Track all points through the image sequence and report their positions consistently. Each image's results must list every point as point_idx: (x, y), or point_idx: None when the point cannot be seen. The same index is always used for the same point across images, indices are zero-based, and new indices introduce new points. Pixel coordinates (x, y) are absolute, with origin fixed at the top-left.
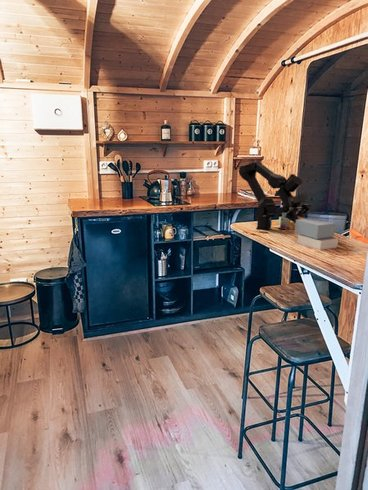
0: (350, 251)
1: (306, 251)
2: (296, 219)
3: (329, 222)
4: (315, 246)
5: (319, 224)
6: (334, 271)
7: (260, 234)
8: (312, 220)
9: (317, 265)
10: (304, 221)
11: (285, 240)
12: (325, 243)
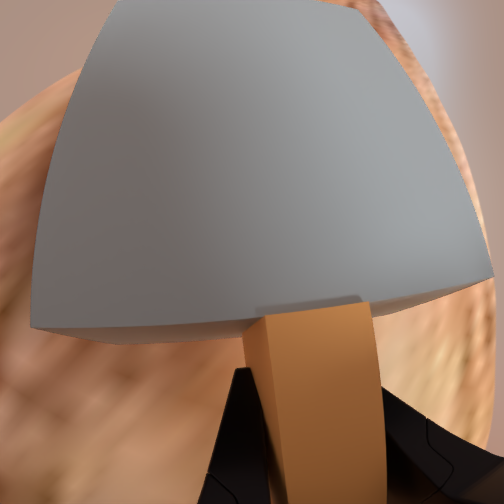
0: None
1: None
2: (409, 414)
3: (132, 19)
4: None
5: (329, 10)
6: (383, 20)
7: None
8: (258, 125)
9: (407, 48)
10: (430, 133)
11: (384, 374)
12: None
